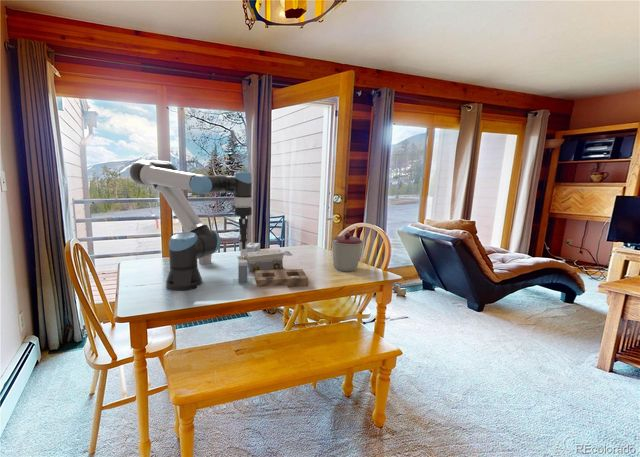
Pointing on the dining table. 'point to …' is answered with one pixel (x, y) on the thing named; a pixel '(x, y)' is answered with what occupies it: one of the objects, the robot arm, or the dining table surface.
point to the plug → (242, 271)
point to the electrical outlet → (265, 260)
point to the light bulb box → (253, 247)
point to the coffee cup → (205, 259)
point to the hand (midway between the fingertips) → (243, 252)
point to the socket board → (281, 278)
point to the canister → (346, 252)
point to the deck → (235, 282)
